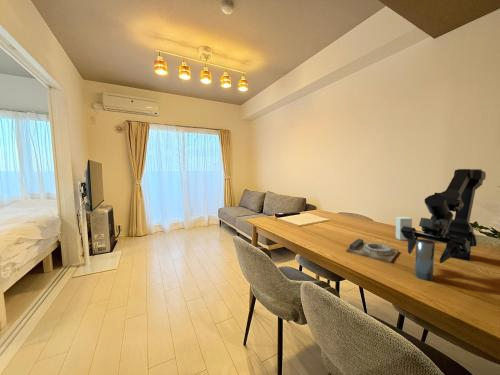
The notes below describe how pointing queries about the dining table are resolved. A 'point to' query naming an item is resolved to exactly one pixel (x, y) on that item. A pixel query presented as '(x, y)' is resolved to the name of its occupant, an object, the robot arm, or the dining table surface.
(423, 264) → the dark grey cylinder
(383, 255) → the jig
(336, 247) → the dining table surface
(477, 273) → the dining table surface
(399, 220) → the skincare box
